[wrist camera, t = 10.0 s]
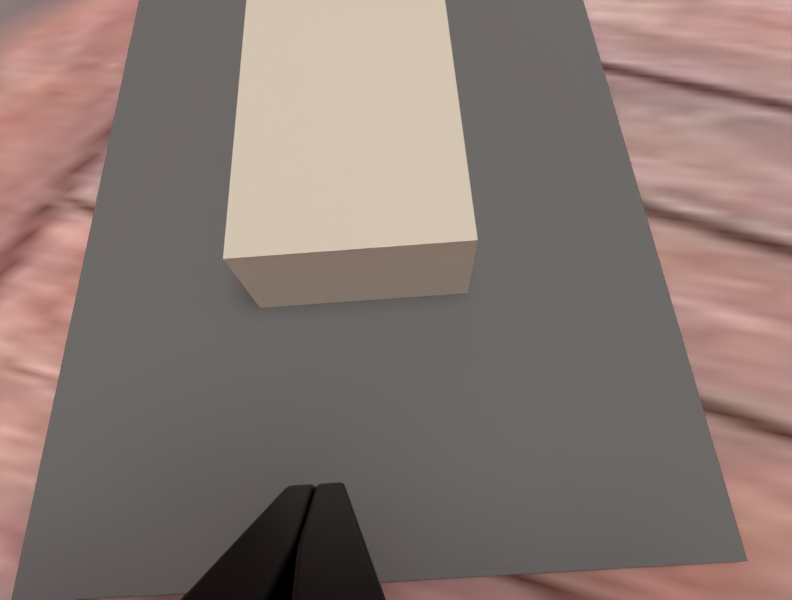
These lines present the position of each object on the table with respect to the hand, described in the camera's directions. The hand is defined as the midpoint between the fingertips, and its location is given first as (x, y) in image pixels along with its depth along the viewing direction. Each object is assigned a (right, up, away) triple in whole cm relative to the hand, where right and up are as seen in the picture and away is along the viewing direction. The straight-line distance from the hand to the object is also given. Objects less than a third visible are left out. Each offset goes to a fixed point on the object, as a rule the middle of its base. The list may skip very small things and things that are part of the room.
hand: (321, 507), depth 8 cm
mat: (0, +7, +12) cm, 14 cm away
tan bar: (0, +4, +8) cm, 9 cm away
